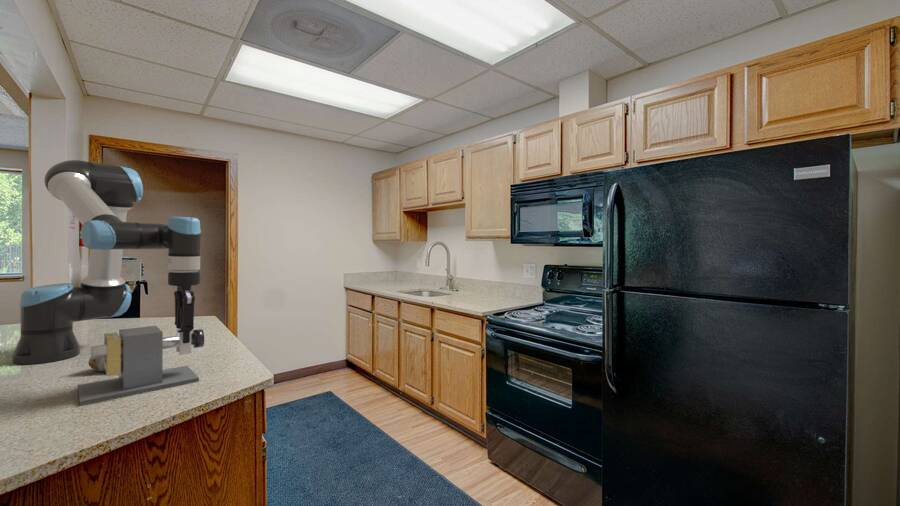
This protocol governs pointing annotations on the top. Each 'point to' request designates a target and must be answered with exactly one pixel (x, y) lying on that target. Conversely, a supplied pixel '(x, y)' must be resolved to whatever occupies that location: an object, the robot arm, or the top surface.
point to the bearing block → (141, 357)
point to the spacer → (112, 354)
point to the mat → (114, 389)
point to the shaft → (168, 342)
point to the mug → (97, 364)
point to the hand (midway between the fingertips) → (183, 352)
